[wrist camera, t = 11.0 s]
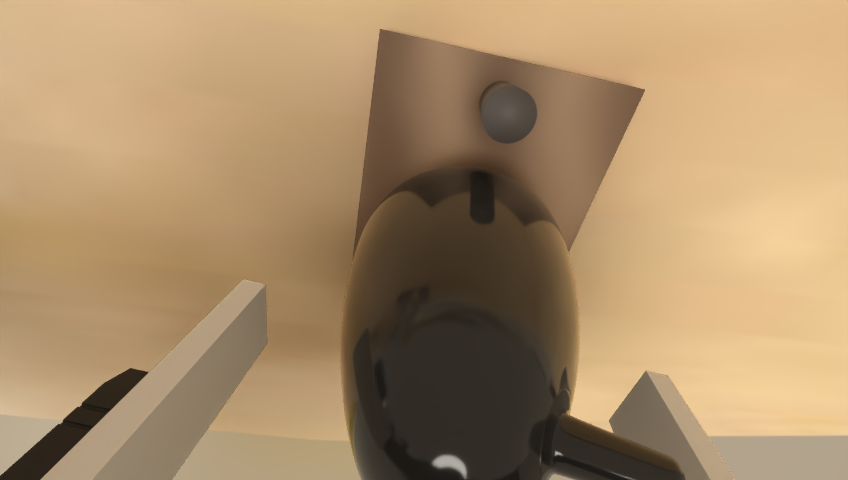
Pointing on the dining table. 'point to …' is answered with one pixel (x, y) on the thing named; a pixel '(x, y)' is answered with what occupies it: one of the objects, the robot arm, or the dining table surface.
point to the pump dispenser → (470, 341)
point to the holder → (490, 124)
